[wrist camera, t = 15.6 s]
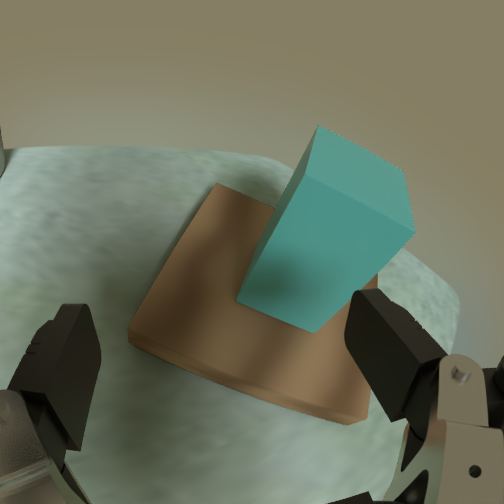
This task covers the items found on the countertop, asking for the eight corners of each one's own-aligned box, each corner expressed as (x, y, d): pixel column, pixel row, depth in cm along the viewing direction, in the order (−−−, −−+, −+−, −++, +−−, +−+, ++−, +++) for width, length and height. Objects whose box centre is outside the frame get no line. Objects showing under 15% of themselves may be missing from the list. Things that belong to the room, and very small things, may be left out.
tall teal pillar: (235, 300, 22) (304, 174, 14) (258, 241, 26) (318, 125, 18) (313, 333, 22) (415, 232, 14) (324, 271, 26) (403, 171, 18)
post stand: (128, 342, 20) (125, 220, 11) (210, 202, 31) (248, 91, 22) (347, 425, 21) (474, 370, 12) (364, 272, 32) (436, 189, 23)
